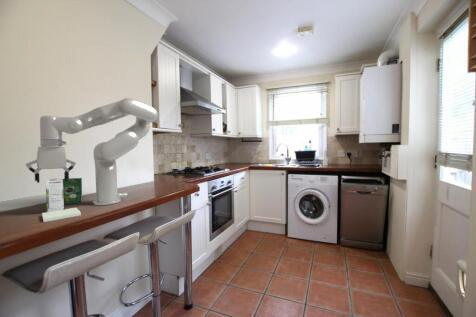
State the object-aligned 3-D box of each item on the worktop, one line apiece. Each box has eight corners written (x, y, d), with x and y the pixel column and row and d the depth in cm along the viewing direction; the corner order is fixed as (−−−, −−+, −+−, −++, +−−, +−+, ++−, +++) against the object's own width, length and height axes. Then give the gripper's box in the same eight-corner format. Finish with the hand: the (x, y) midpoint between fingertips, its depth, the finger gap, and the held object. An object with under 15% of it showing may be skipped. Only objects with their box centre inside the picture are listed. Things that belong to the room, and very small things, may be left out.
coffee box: (83, 201, 118) (82, 177, 118) (82, 202, 116) (81, 177, 115) (64, 203, 115) (63, 178, 114) (63, 204, 112) (61, 179, 111)
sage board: (76, 210, 102) (76, 207, 102) (80, 215, 94) (80, 212, 94) (42, 215, 94) (41, 213, 94) (43, 222, 86) (43, 219, 86)
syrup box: (48, 210, 102) (46, 179, 101) (64, 208, 105) (62, 178, 104) (46, 213, 97) (44, 181, 96) (63, 211, 100) (61, 179, 100)
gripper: (73, 144, 108) (74, 179, 109) (25, 143, 96) (26, 182, 97) (76, 144, 103) (77, 180, 103) (24, 143, 91) (26, 184, 91)
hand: (52, 181), depth 100 cm, fingers open, 9 cm apart
